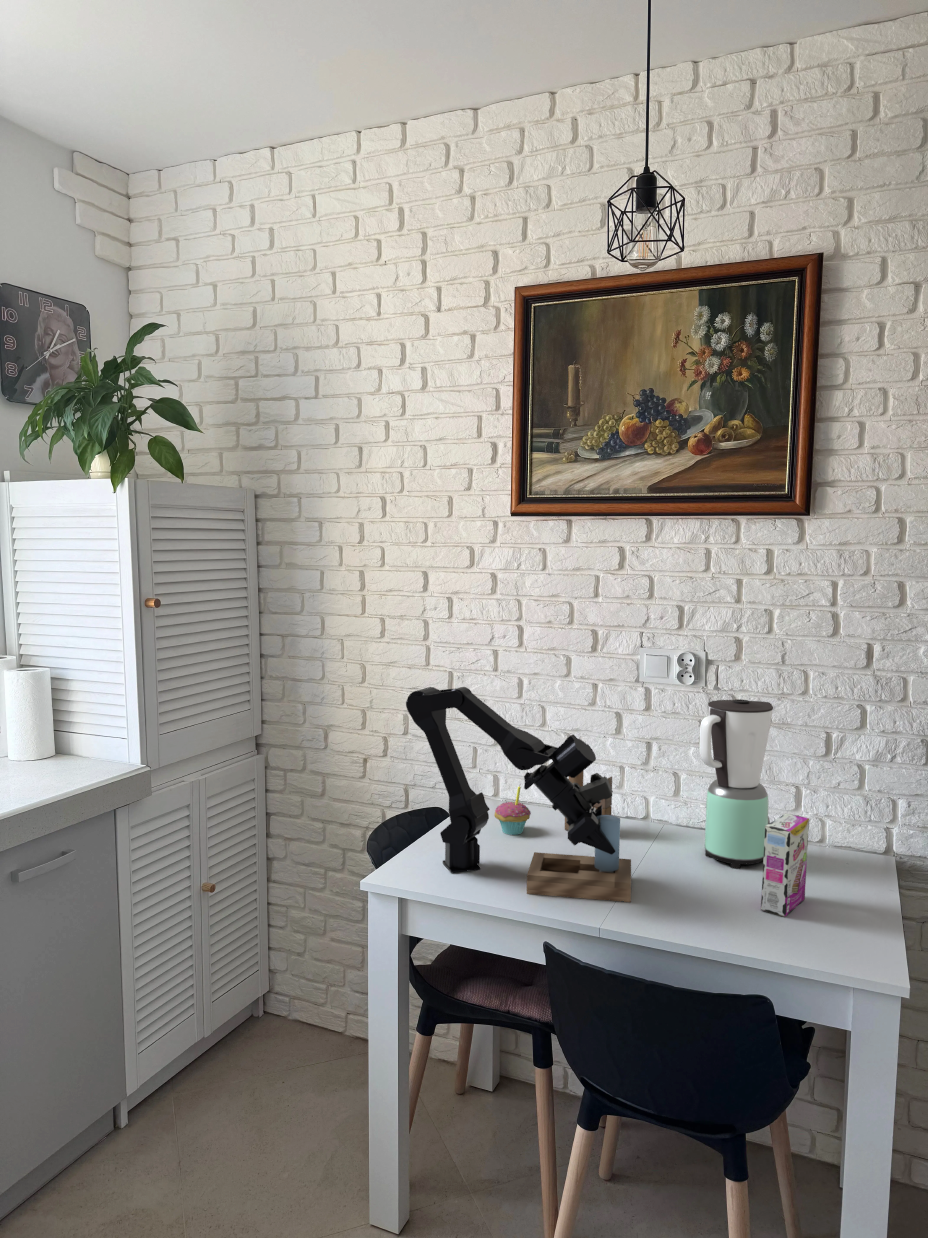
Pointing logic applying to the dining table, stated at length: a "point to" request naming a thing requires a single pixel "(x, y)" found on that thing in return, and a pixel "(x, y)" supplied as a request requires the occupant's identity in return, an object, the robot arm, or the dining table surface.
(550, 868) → the keyhole board
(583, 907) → the dining table surface
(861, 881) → the dining table surface
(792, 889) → the candy bar box
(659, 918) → the dining table surface
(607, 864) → the keyhole stud
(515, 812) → the cupcake
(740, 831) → the mint green blender
